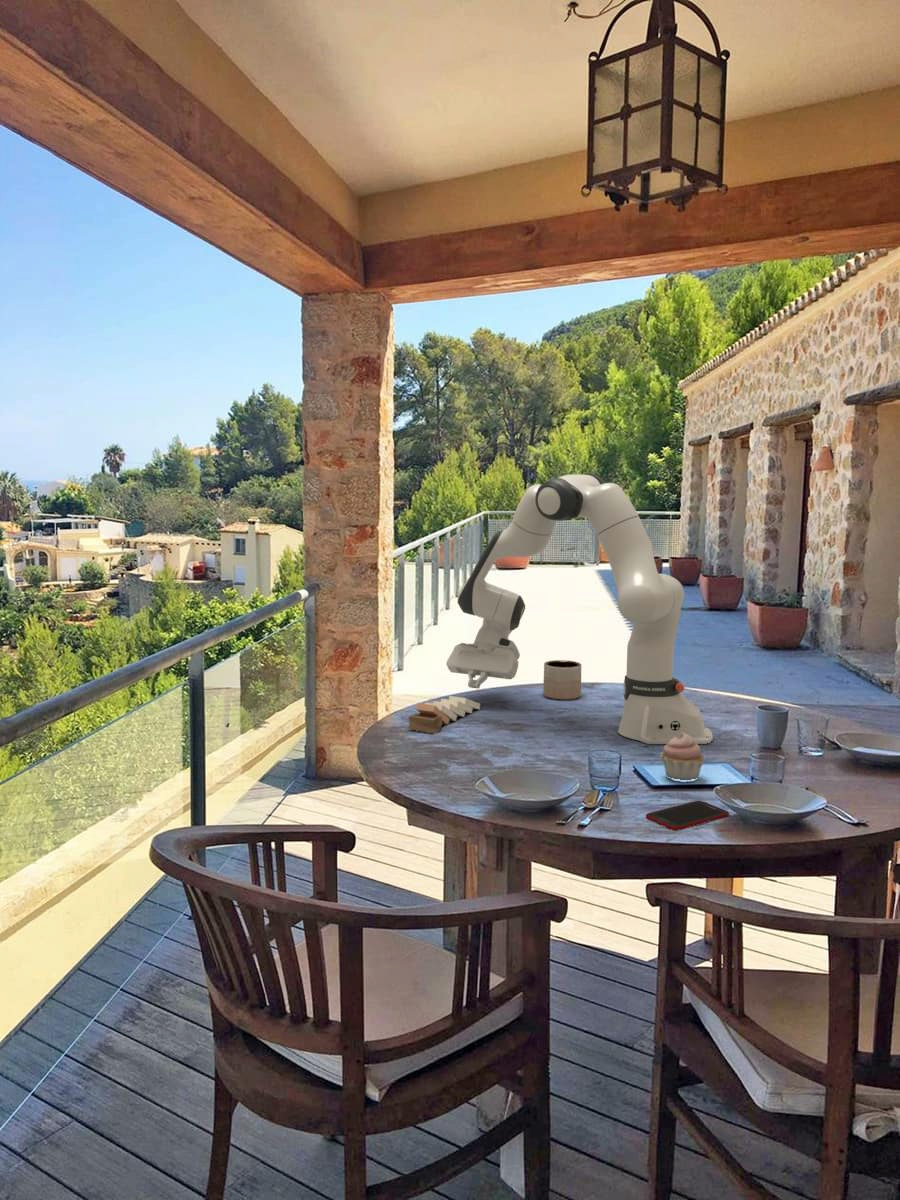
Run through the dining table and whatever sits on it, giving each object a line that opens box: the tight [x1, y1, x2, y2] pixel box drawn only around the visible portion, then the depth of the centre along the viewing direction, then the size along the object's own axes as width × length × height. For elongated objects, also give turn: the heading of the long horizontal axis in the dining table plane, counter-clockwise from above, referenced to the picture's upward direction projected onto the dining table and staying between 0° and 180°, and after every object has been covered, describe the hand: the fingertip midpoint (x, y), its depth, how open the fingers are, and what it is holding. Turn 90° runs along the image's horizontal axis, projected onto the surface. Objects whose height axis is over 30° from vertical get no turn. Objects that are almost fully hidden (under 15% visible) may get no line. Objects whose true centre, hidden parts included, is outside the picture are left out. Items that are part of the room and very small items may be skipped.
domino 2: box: [424, 701, 458, 722], centre depth 229 cm, size 2×5×9 cm
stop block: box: [408, 712, 443, 735], centre depth 223 cm, size 4×7×4 cm, turn 61°
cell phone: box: [645, 800, 730, 831], centre depth 166 cm, size 8×15×1 cm, turn 122°
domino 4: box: [440, 698, 474, 714], centre depth 237 cm, size 2×5×9 cm
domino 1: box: [415, 702, 450, 726], centre depth 226 cm, size 2×5×9 cm
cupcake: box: [659, 732, 706, 780], centre depth 187 cm, size 9×9×10 cm
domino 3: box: [432, 700, 466, 718], centre depth 233 cm, size 2×5×9 cm
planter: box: [542, 659, 582, 701], centre depth 259 cm, size 11×11×10 cm
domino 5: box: [448, 695, 481, 711], centre depth 241 cm, size 2×5×9 cm
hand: (473, 686), depth 244 cm, fingers closed
